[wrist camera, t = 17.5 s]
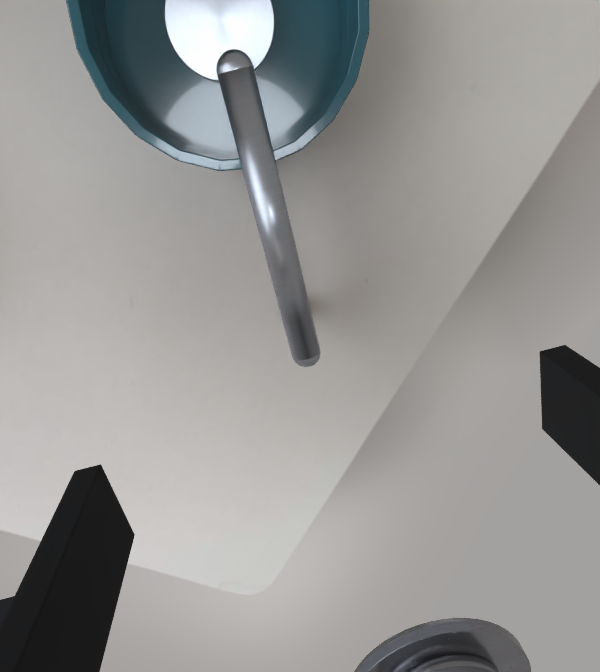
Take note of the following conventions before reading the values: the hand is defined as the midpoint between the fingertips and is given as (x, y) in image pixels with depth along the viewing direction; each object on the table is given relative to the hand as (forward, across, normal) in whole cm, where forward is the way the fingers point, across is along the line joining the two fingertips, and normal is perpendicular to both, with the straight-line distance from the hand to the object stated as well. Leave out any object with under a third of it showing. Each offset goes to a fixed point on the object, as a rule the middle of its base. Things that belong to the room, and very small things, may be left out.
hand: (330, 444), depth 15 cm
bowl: (+24, 0, +14) cm, 28 cm away
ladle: (+23, 0, +7) cm, 24 cm away
